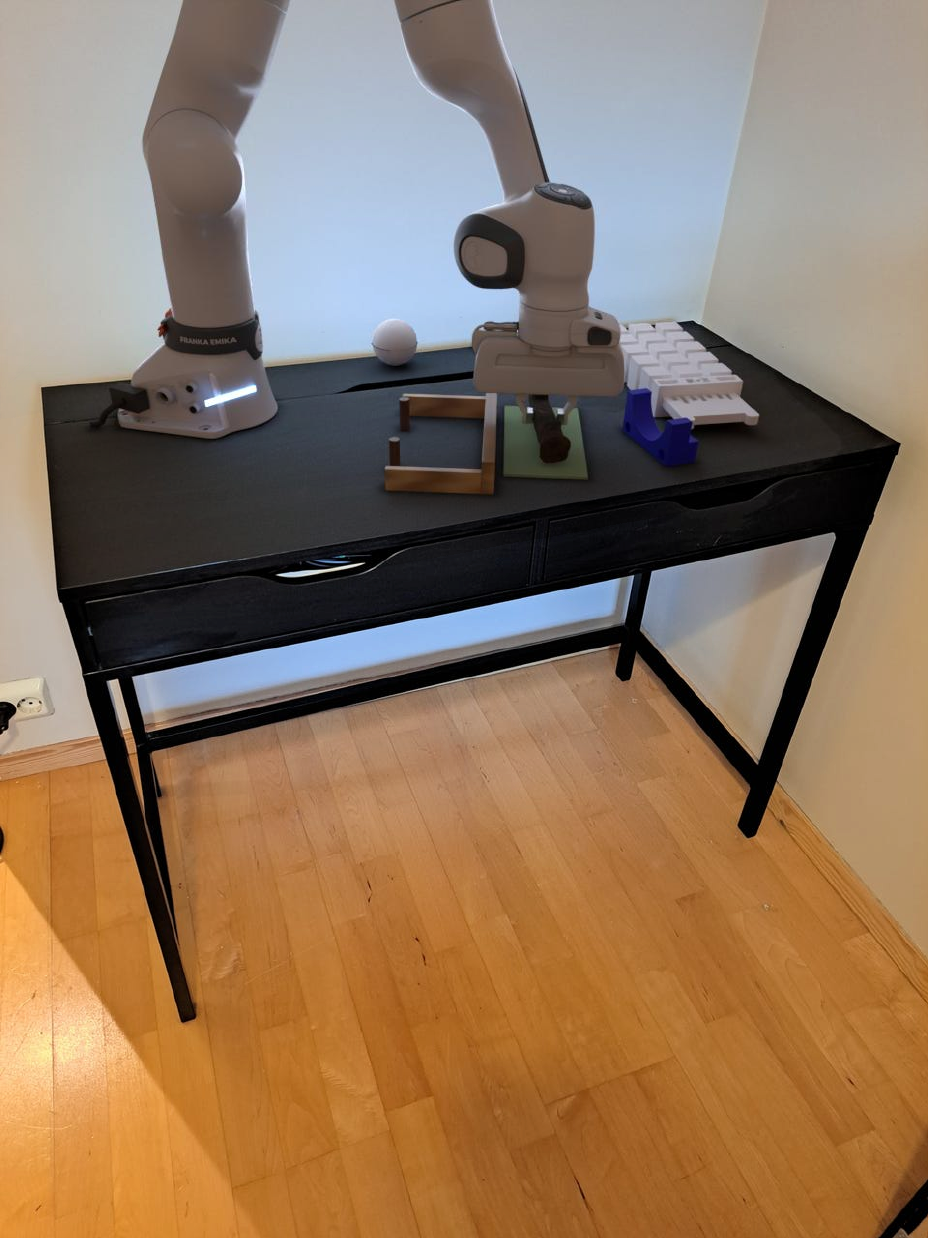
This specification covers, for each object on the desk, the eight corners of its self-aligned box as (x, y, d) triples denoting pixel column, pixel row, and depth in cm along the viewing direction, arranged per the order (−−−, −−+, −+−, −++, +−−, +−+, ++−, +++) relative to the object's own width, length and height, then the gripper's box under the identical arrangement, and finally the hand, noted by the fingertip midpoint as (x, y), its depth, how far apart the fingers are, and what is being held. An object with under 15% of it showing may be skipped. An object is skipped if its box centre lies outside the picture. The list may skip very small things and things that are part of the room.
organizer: (675, 321, 154) (769, 403, 126) (670, 349, 156) (761, 435, 129) (601, 325, 151) (681, 409, 124) (598, 353, 154) (675, 441, 127)
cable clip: (694, 461, 122) (702, 420, 118) (665, 466, 121) (672, 424, 117) (649, 425, 131) (655, 386, 127) (622, 430, 129) (627, 390, 126)
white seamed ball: (365, 360, 149) (363, 316, 145) (405, 353, 152) (404, 309, 148) (391, 381, 142) (389, 335, 138) (432, 373, 145) (432, 328, 141)
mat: (503, 476, 117) (503, 473, 117) (504, 407, 135) (504, 405, 135) (587, 479, 117) (587, 476, 117) (577, 410, 135) (578, 408, 134)
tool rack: (385, 490, 114) (384, 458, 111) (403, 412, 133) (403, 383, 130) (493, 494, 113) (494, 462, 111) (496, 415, 133) (497, 386, 130)
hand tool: (569, 464, 118) (572, 431, 115) (539, 465, 118) (541, 432, 115) (551, 405, 133) (553, 375, 131) (524, 406, 133) (525, 375, 130)
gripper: (471, 328, 114) (468, 429, 122) (632, 334, 114) (619, 435, 122) (472, 312, 119) (470, 410, 127) (627, 317, 119) (615, 415, 127)
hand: (544, 422), depth 125 cm, fingers closed on hand tool, 3 cm apart
